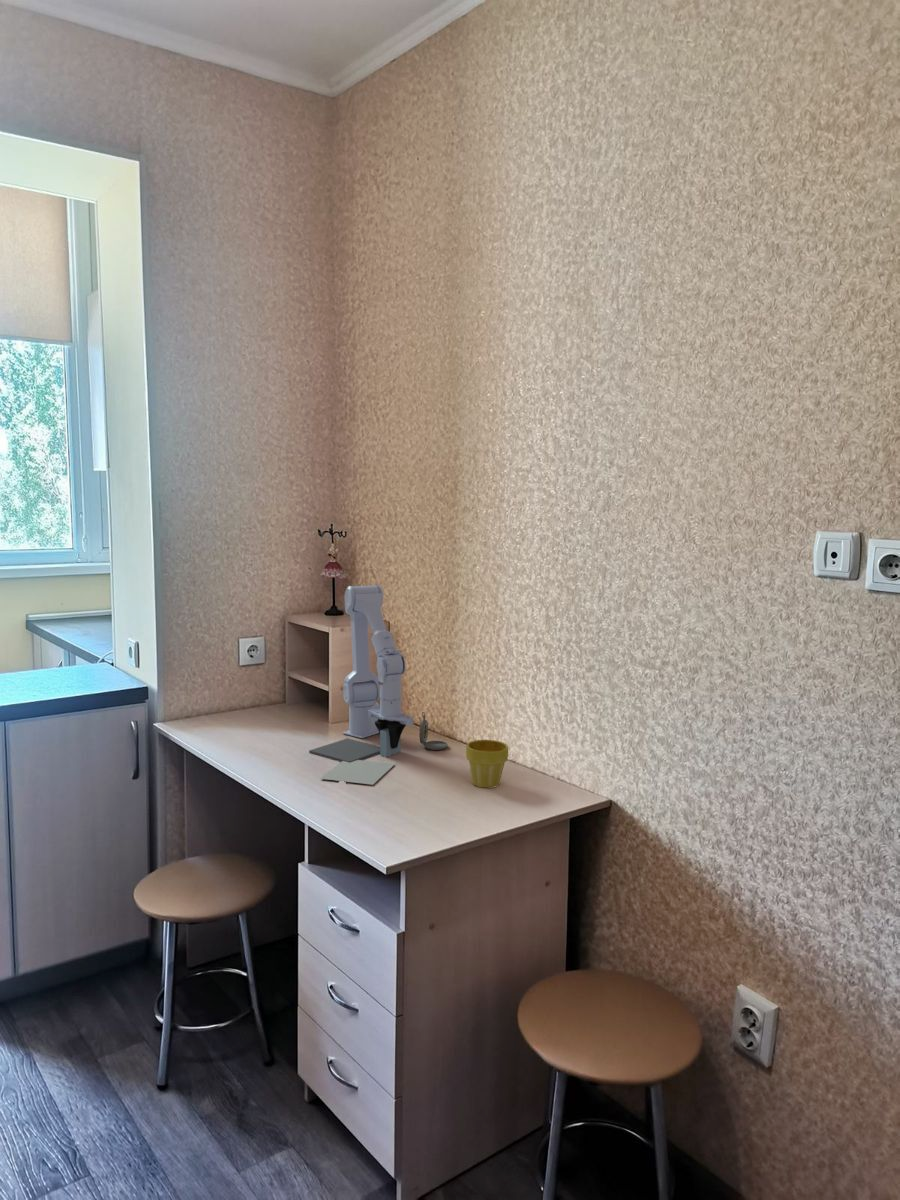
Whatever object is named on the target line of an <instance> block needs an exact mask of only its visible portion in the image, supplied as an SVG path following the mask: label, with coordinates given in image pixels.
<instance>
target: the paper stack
mask: <svg viewBox="0 0 900 1200" xmlns="http://www.w3.org/2000/svg"><path fill="white" fill-rule="evenodd" d="M395 765H396V763H392V762H391V763H389V762H379V761H371V760H364V759H362V760H355V761H352V762H346V761H342V762H341V761H340V762H339V763H338V764H337V765H335V766H334V767H333V768H331V769H330V770H329V771H328V772H326V773H325V774H324V775H323V776H321V777H320V778H319V779H320V780H327V781H328V780H329V781H336V782H338V781H344V782H347V783H356V784H364V785H374V784H376V782H378V780H380V778H382V777H383V776H384V775H385V774H386V773H388V772H389V770H391V769H392V767H393V766H395Z"/></svg>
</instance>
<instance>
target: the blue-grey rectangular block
mask: <svg viewBox="0 0 900 1200" xmlns="http://www.w3.org/2000/svg"><path fill="white" fill-rule="evenodd" d="M401 736H402V735H401ZM401 736H400V739H399V743H398V747H397V748H394V749H392V748H391V746H390V734H389V729H388V728H386V729H383V730H380V733H379V746H380V753H379V756H380V755H382V756H381V757H384V756H388V757H390V756H392V755H391V754H393V755H395V754H394V753H396V754H398V753H397V752H399V753H400V752H401V751H402V750H401V747H402V745H401ZM389 755H390V756H389Z"/></svg>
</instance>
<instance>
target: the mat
mask: <svg viewBox="0 0 900 1200" xmlns="http://www.w3.org/2000/svg"><path fill="white" fill-rule="evenodd" d="M308 752H309V754H312V753H313V755H316V756H321V757H324V758H328V759H330V760H334V759H335V760H334V761H337V760H338V762H341V761H346V762H352V761H355V760H361V759H362V760H364V759H367V758H369V756H370V757H372V755H373V756H375V755H374V754H376V755H378V754H380V745H376V744H371V743H368V742H363V741H361V740H356V739H352V738H344V739H341V740H338V741H334V742H332V743H331V742H330V743H329V744H326V745H321V746H319V747H315V748H313V749H310V750H309V751H308ZM377 753H378V754H377ZM363 758H364V759H363Z"/></svg>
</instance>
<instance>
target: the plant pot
mask: <svg viewBox="0 0 900 1200" xmlns="http://www.w3.org/2000/svg"><path fill="white" fill-rule="evenodd" d="M465 754H466V755H465V757H466V760H467V761H468V762H469V764H468V765H469V769H470V776H471V781H472V784H473V785H474V786H475V785H476V786H475V787H477V786H479V787H478V788H481V787H493V788H495V787H494V786H497V785H498V786H499V785H500V783H501V779H502V774H503V772H504V771H503V770H504V767H505V763H506V762H508V758H509V746H508V744H507V743H505V742H503V741H500V740H499V741H498V740H493V739H476V740H475V739H474V740H472V741H469V742H468V743H467V744H466V748H465ZM498 786H497V787H498Z"/></svg>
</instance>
